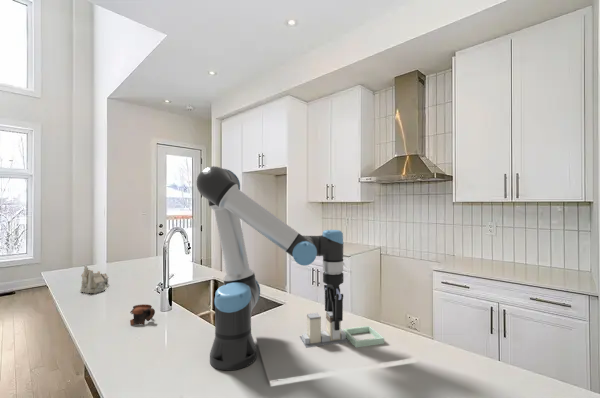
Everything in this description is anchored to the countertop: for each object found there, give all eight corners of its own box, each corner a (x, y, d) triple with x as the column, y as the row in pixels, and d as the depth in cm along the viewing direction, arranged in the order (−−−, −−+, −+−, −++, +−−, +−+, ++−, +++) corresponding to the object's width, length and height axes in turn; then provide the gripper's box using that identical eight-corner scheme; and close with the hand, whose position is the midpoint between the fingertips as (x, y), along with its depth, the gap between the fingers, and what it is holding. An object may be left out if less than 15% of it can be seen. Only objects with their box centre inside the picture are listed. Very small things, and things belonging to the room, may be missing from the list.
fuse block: (306, 351, 107) (306, 341, 107) (299, 339, 115) (299, 331, 115) (349, 345, 111) (349, 336, 111) (339, 334, 119) (339, 326, 119)
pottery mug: (122, 326, 129) (125, 306, 133) (140, 328, 137) (142, 309, 141) (146, 321, 126) (148, 301, 130) (162, 324, 134) (164, 304, 138)
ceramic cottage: (88, 294, 170) (89, 267, 171) (75, 291, 179) (76, 265, 180) (117, 289, 183) (118, 264, 184) (104, 286, 192) (105, 262, 193)
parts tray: (355, 350, 107) (355, 341, 107) (343, 337, 117) (343, 328, 117) (384, 346, 109) (384, 337, 109) (369, 333, 120) (369, 325, 120)
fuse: (310, 343, 110) (310, 317, 110) (307, 338, 113) (306, 313, 113) (320, 342, 111) (320, 316, 111) (317, 337, 114) (317, 312, 114)
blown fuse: (330, 340, 111) (330, 315, 111) (326, 336, 115) (326, 311, 115) (340, 339, 112) (340, 314, 112) (336, 334, 117) (336, 310, 117)
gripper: (352, 277, 107) (352, 344, 107) (334, 266, 123) (334, 324, 123) (332, 278, 105) (332, 347, 105) (316, 267, 121) (316, 327, 121)
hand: (333, 335), depth 114 cm, fingers closed on blown fuse, 4 cm apart
